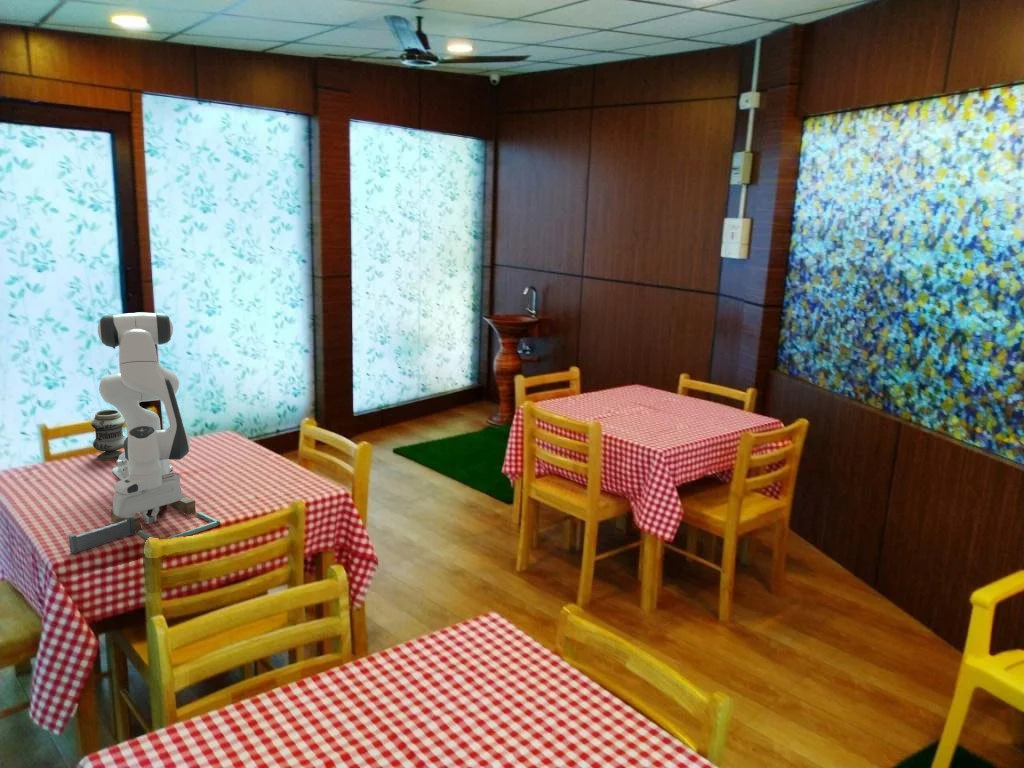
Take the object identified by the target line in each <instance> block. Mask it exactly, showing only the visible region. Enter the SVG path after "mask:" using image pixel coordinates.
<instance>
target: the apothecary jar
mask: <svg viewBox="0 0 1024 768" xmlns="http://www.w3.org/2000/svg"><path fill="white" fill-rule="evenodd" d="M124 424H126V423H125V420H124V417H123V415H122V414H121V412H120V411H119V410H118V409H103V410H98V411H96V412H95V413H94V418H92V420H91V422H90V425H91V427H92V428H93V429H94V431H95V439H94V440H93V442H92V447H93V448H94V449H95V450H97V451H101V453H100V454H98V455H97V459H98V460H102V461H113V460H116V459H117V460H118V458H119V456H120V455H121V454H122V453H123V452H124V451H120V450H121V449H123V448H124V440H125V439H126V438H127V437H126V436H125V435H124V433H123V426H124Z"/></svg>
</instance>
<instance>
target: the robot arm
mask: <svg viewBox="0 0 1024 768" xmlns="http://www.w3.org/2000/svg"><path fill="white" fill-rule="evenodd" d="M173 332H174V325H173V323H172V321H171V319H170V316H169V315H168V314H166V313H162V312H155V313H154V312H128V313H120V314H119V313H118V314H114V313H111V314H107V315H103V316H102V317H101V318H100V320H99V323H98V325H97V335H98V338H99V340H100V341H101V343H102V344H103V345H105V346H106V347H110V348H112V349H114V350H115V349H116V348H117V347H118V349H119V350H118V362H119V363H118V365H119V372H116V373H112V374H109V375H105V376H103V378H102V379H101V381H100V383H99V385H98V387H99V388H98V391H99V394H100V397H101V398H102V400H104V401H105V402H106V403H108V404H110V405H111V406H113V407H115V408H116V410H118V411H119V412H120V415H121V416H122V417H124V420H125V423H124V424H125V428H126V433H127V434H126V435H127V437H126V439H125V440H124V447H123V448H124V450H123V451H122V452H123V453H122V454H121V455H120V456H119V458H117V460H116V466H115V467H113V468H112V469H111V470H112V471H111V472H112V473H113V474H114V475H115V476H116V477H117V478H118V479H119V480H118V481H117V482H115V483H114V485H113V488H114V490H115V492H114V494H113V496H112V509H113V512H114V514H115V515H116V516H118V517H120V518H123V517H127V516H130V515H133V514H135V515H136V514H139V513H140V515H141V517H143V518H144V523H145V524H150V523H153V522H157V517H158V516H157V514H158V511H159V507H160V506H163V505H167V504H170V503H173V502H177V501H180V500H181V498H182V495H183V492H182V491H183V490H182V488H181V484H180V483H181V478H180V475H179V474H178V473H176V472H171V471H172V470H174V466H173V465H170V461H172V460H173V461H174V460H177V461H178V460H181V459H183V458H185V456H187V455H188V453H189V452H190V449H191V441H190V437H189V434H188V433H187V431H186V429H185V426H184V423H183V418H182V415H181V410H180V407H179V404H178V400H177V397H176V394H177V393H178V390H179V388H180V382H179V378H178V376H177V375H176V374H175V372H173V371H172V370H170V369H168V368H166V367H165V366H163V365H161V363H159V361H158V354H157V347H156V345H164V344H168V343H169V342H170V341H171V339H172V336H173ZM151 401H161V402H162V403H163V406H164V409H165V412H166V413H165V414H166V417H167V420H168V425H169V426H168V428H163V429H161V428H162V427H161V420H160V417H159V415H158V413H156V412H154V411H153V410H149V409H148V408H147V409H146V408H143V407H142V406H140V403H141V402H151ZM150 509H152V510H153V511H152V514H151V515H150V516H147V515H146V514H147V513H148V512H147V510H150ZM156 516H157V517H156Z"/></svg>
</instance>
